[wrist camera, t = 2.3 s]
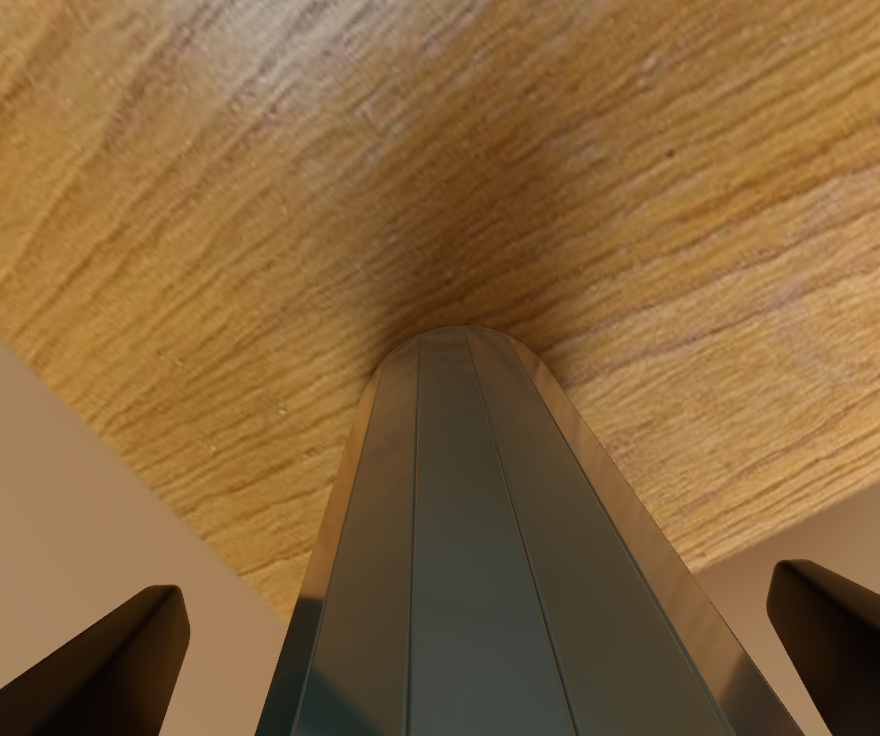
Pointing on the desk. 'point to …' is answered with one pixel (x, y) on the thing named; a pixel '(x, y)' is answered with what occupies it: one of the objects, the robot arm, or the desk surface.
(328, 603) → the cup
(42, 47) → the desk surface
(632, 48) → the desk surface
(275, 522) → the desk surface
